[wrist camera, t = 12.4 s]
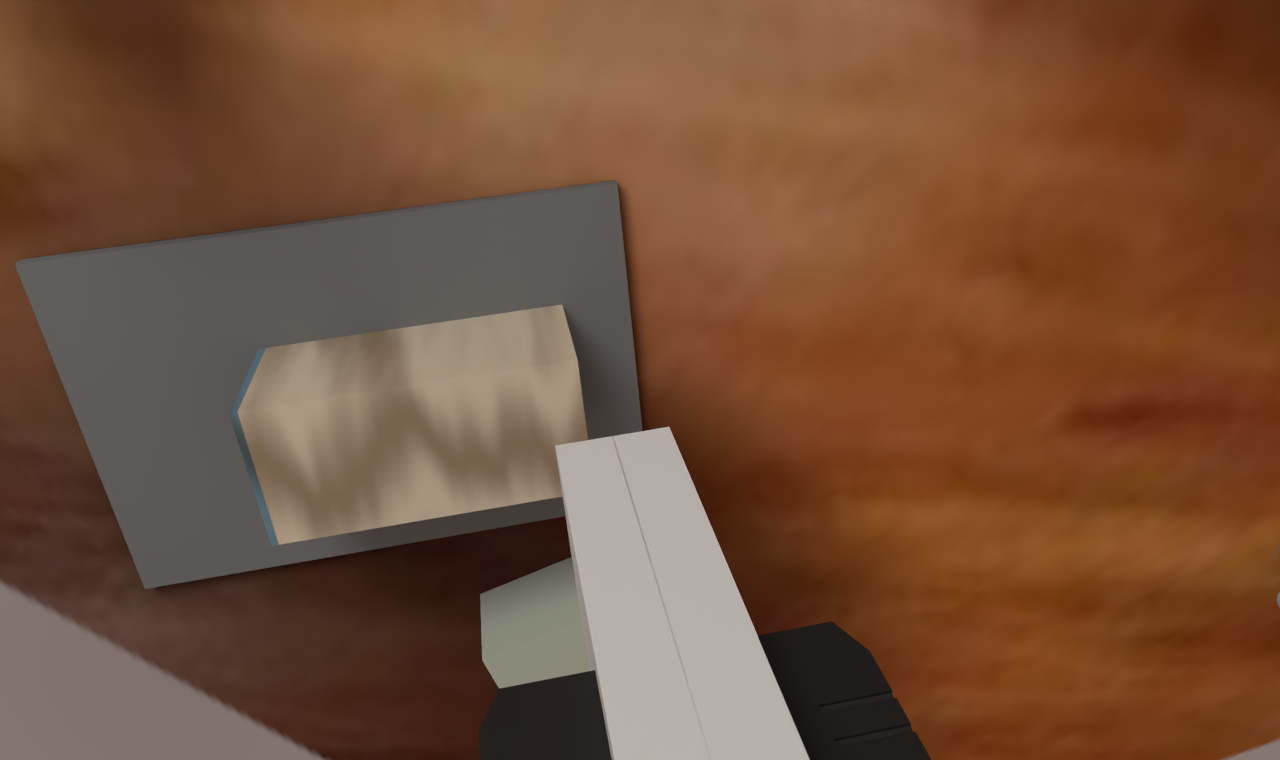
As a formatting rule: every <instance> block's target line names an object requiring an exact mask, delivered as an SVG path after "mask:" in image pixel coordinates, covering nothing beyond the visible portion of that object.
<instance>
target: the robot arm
mask: <svg viewBox="0 0 1280 760" xmlns="http://www.w3.org/2000/svg"><path fill="white" fill-rule="evenodd" d="M555 448H556V455H557V462H558V468H559V475H560V482H561V488H562V495H563V502H564V509H565V515H566V522H567V529H568V535H569V542H570V549H571V555H572V562H573V569H574V575H575V582H576V589H577V596H578V602H579V609H580V615H581V621H582V626H583V632H584V637H585V643H586V649H587V654H588V660H589V665H590V671H588V672H583V673H577V674H572V675H567V676H562V677H557V678H551V679H546V680H541V681H536V682H531V683H525V684H520V685H515V686H510V687H505V688H499V689H498V691H497V693H496V695H495V697H494V699H493V702H492V704H491V706H490V708H489V710H488V712H487V715H486V717H485V719H484V721H483V723H482V726H481V728H480V730H479V752H480V760H931V758H930V757H929V755H928V753H927V751H926V750H925V748H924V746H923V744H922V743H921V741H920V739H919V737H918V736H917V734H916V732H913V731H912V729H911V724H910V721H909V720H908V718H907V716H906V714H905V713H904V711H903V709H902V707H901V706H900V704H899V702H898V700H897V698H894V697H893V695H892V690H891V688H890V686H889V684H888V683H887V681H886V679H885V677H884V676H883V674H882V672H881V670H880V669H879V667H878V665H877V663H876V661H875V660H874V658H873V656H872V654H871V653H870V651H869V650H868V649H866V648H865V647H864V646H862V645H861V644H860V643H859V642H857V641H856V640H855V639H854V638H852V637H851V636H850V635H848V634H847V633H846V632H845V631H843V630H842V629H841V628H840V627H838V626H837V625H836V624H834V623H833V622H827V623H821V624H816V625H811V626H806V627H801V628H795V629H790V630H785V631H780V632H775V633H769V634H764V635H759V636H757V634H756V631H755V629H754V626H753V624H752V622H751V619H750V617H749V615H748V612H747V610H746V608H745V605H744V603H743V600H742V598H741V596H740V593H739V591H738V589H737V586H736V584H735V581H734V579H733V577H732V574H731V572H730V570H729V567H728V565H727V563H726V560H725V558H724V555H723V553H722V551H721V548H720V546H719V544H718V541H717V539H716V536H715V534H714V532H713V529H712V527H711V525H710V522H709V520H708V517H707V515H706V513H705V510H704V508H703V506H702V503H701V501H700V499H699V496H698V494H697V491H696V489H695V487H694V484H693V482H692V480H691V477H690V475H689V472H688V470H687V468H686V465H685V463H684V461H683V458H682V456H681V454H680V451H679V449H678V446H677V444H676V442H675V439H674V437H673V435H672V432H671V430H670V427H665V428H659V429H653V430H647V431H641V432H635V433H629V434H623V435H617V436H610V437H604V438H598V439H592V440H586V441H580V442H574V443H568V444H562V445H556V446H555Z"/></svg>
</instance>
